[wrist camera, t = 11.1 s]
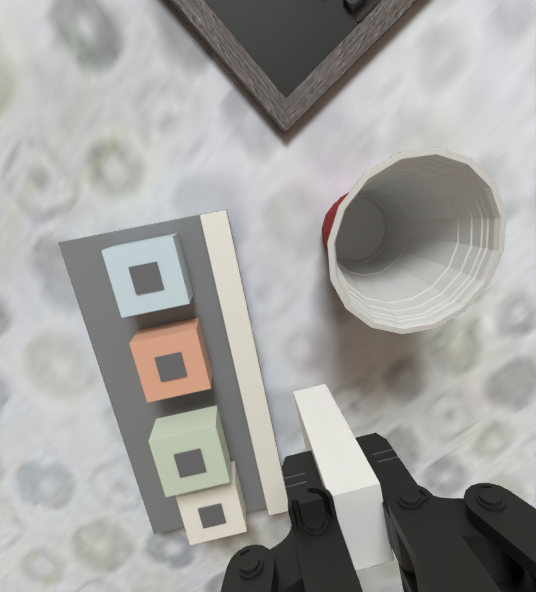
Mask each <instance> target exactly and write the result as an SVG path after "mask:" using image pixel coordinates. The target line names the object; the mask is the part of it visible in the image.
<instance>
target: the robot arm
mask: <svg viewBox="0 0 536 592" xmlns="http://www.w3.org/2000/svg"><path fill="white" fill-rule="evenodd" d="M293 393H294V398H295V402H296V407H297V411H298V415H299V420H300V424H301V428H302V433H303V437H304V442H305V446H306V449H307V452H303V453H299V454H295V455H291V456H287V457H285V460H284V463H283V466H282V470H283V475H284V480H285V486H286V491H287V496H288V512H289V516H290V520H291V524H292V527H291V530H290V532H289V534H288V536H287V537H286V538H285V539H284V540H283V541H282V542H281V543H279V544H278V545H277V546H275V547H273V548H272V549H270V550H269V549H268V548H266V547H264V546H262V545H250V546H246V547H244V548H243V549H241V550H239V551H238V552H237V553H236V554H235V555H234V556H233V557H232V558H231V560H230V562H229V564H228V566H227V569H226V573H225V577H224V581H223V585H222V588H221V592H363V591H362V588H361V585H360V582H359V579H358V576H357V574H356V570H360V569H364V568H367V567H371V566H375V565H379V564H382V563H386V562H390V561H393V560H394V558H393V552H392V549H393V551H394V553H395V556H396V558H397V560H398V563H399V569H400V574H401V580H402V585H403V591H404V592H536V509H535V508H534V507H532V506H531V505H529V504H528V503H526V502H525V501H524V500H522V499H521V498H519V497H518V496H516V495H515V494H513V493H512V492H510V491H509V490H507V489H505V488H503V487H501V486H499V485H495V484H490V483H479V484H475V485H472V486H470V487H469V488H468V489H467V490H466V492H465V495H464V499H460V498H440V497H436V496H433V495H432V494H431V493H430V492H429V491H428V490H427V489H426V488H424V487H421V486H419V485H417V483H416V482H415V480H414V479H413V478H412V476H411V475H410V473H409V472H408V470H407V469H406V467H405V466H404V464H403V463H402V461H401V460H400V459H399V457H398V456H397V454H396V453H395V451H394V450H393V449H392V447H391V445H390V444H389V442H388V441H387V440H386V439H385V438H383V437H382V436H380V435H379V434H377V433H373V434H369V435H365V436H361V437H357V438H355V437H354V435H353V433H352V432H351V430H350V428H349V426H348V424H347V422H346V421H345V419H344V417H343V415H342V413H341V411H340V410H339V408H338V406H337V404H336V402H335V401H334V399H333V397H332V395H331V393H330V391H329V390H328V388H327V386H326V384H323V385H319V386H315V387H311V388H307V389H303V390H299V391H295V392H293Z"/></svg>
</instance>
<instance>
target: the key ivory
mask: <svg viewBox="0 0 536 592" xmlns="http://www.w3.org/2000/svg"><path fill="white" fill-rule="evenodd" d="M176 500H177V503H178V506H179V510H180V513H181V516H182V520H183V523H184V526H185V530H186V533H187V536H188V540H189V543H190V545H193V544H197V543H201V542H206V541H210V540H214V539H218V538H222V537H226V536H231V535H235V534H239V533H243V532H247V524H246V505H245V501H244V497H243V493H242V489H241V485H240V481H239V477H238V473H237V469H236V465H235V461H231V462H230V482H229V483H225V484H221V485H216V486H212V487H208V488H203V489H199V490H195V491H190V492H186V493H182V494H178V495H176Z"/></svg>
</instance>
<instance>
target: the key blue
mask: <svg viewBox="0 0 536 592" xmlns="http://www.w3.org/2000/svg"><path fill="white" fill-rule="evenodd" d="M101 251H102V255H103V258H104V261H105V264H106V268H107V271H108V274H109V278H110V281H111V284H112V288H113V291H114V294H115V298H116V301H117V304H118V308H119V311H120V314H121V317H122V318H123V317H128V316H133V315H138V314H143V313H147V312H152V311H157V310H162V309H167V308H171V307H176V306H181V305H186V304H190V301H191V299H192V296H193V291H192V287H191V283H190V279H189V275H188V271H187V266H186V262H185V258H184V254H183V250H182V246H181V242H180V238H179V234H178V233H175V234H170V235H165V236H160V237H155V238H150V239H145V240H140V241H135V242H130V243H125V244H120V245H115V246H112V247H109V248H106V249H104V250H101Z"/></svg>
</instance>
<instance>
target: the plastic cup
mask: <svg viewBox="0 0 536 592" xmlns="http://www.w3.org/2000/svg"><path fill="white" fill-rule="evenodd" d="M505 227H506V213H505V210H504V207H503V204H502V201H501V198H500V195H499V192H498V189H497V186H496V183H495V182H494V181H493V180H492V179H491V178H490V177H489V176H488V175H487V174H486V173H485V172H484V171H483V170H482V169H481V168H480V167H479V166H478V165H477V164H476V163H475V161H474V160H473V159H472V158H469V157H466V156H463V155H460V154H457V153H454V152H451V151H448V150H445V149H442V148H439V147H434V148H427V149H420V150H413V151H406V152H399V153H397V154H396V155H394V156H393V157H391V158H389V159H388V160H386V161H384V162H383V163H381V164H379V165H378V166H376V167H374V168H373V169H371V170H369V171H368V172H366V173H364V174H363V175H362V177H361V178H360V179H359V180H358V182H357V183H356V184H355V186H354V187H353V188H352V189H351V191H350V192H348V193H347V194H345V195H344V196H342V197H341V198H340V199H339V200H338V201H337V202H335V203H334V205H333V206H332V207H331V208H330V210H329V211H328V212H327V214H326V216H325V219H324V223H323V226H322V235H323V243H324V245H325V249H326V250H327V252H328V257H329V270H330V280H331V282H332V284H333V286H334V287H335V289H336V291H337V293H338V295H339V297H340V299H341V300H342V302H343V304H344V306H345V308H346V309H347V310H348V311H350V312H351V313H352V314H354V315H355V316H356V317H358V318H359V319H360V320H362V321H363V322H364V323H366V324H367V325H369V326H370V327H371V328H375V329H380V330H385V331H389V332H394V333H399V334H407V333H412V332H418V331H424V330H429V329H435V328H437V327H438V326H440V325H442V324H444V323H445V322H447V321H449V320H451V319H452V318H454V317H456V316H458V315H459V314H461V313H463V312H465V311H466V310H467V309H468V307H469V306H470V305H471V304H472V303H473V302H474V301H475V300H476V299H477V297H478V296H479V295H480V294H481V293H482V292H483V291H484V290H485V289H486V287H487V286H488V285H489V284H490V281H491V279H492V277H493V275H494V272H495V270H496V268H497V265H498V263H499V261H500V259H501V256H502V254H503V252H504V240H505Z"/></svg>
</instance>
